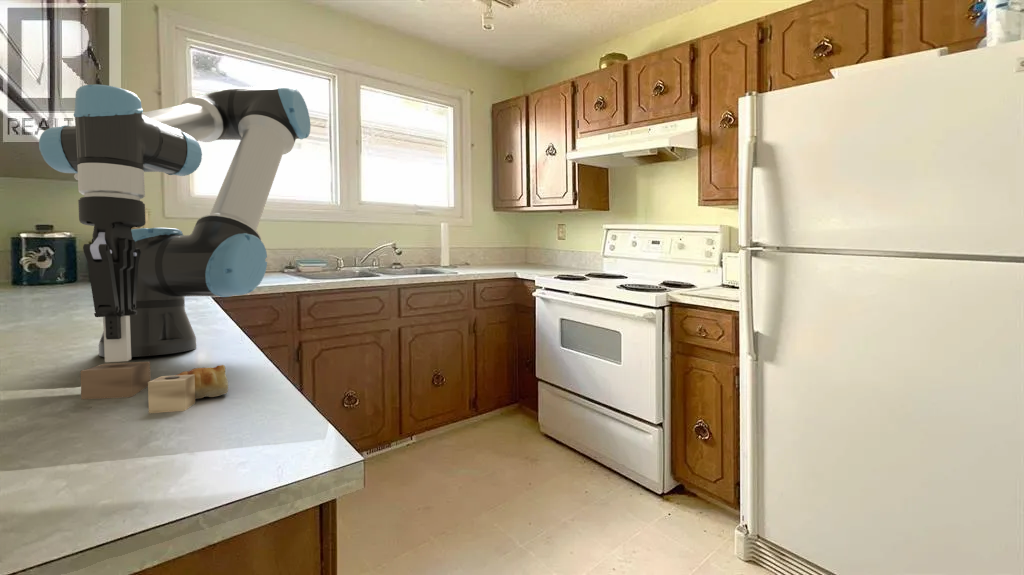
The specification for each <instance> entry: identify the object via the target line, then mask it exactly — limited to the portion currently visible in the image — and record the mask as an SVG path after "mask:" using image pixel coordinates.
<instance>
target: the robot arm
mask: <svg viewBox="0 0 1024 575" xmlns="http://www.w3.org/2000/svg"><path fill="white" fill-rule="evenodd" d="M73 117H74V122H75V125H61V126H55V127H49V128H47V129H45V130H44V131H43V132H42V133H41V134H40V137H39V140H38V148H39V152H40V155H41V156H42V159H43V160H44V162H45V163H46V164H47V165H48V166H49V167H51V168H52V169H54V170H55V171H57V172H59V173H62V174H74V175H73V178H74V179H75V180H76V181H77V184H78V193H79V194H81V195H83V197H80V198H79V199H78V200H77V202H78V220H79V222H80V224H82V225H84V226H89V227H90V226H91V227H93V230H92V231H93V232H92V239H91V243H84V244H83V246H82V250H83V253H84V256H85V259H86V262H87V269H88V274H89V280H90V281H89V282H90V287H91V294H92V301H93V306H94V308H93V309H94V312H95V313H93V314H94V317H95V318H102V321H103V332H102V334H101V335H100V336H101V337H100V339H99V343H98V356H99V357H102V358H104V363H122V362H130V361H131V360H132V358H134V357H135V358H136V357H151V356H159V355H161V356H162V355H170V354H178V353H183V352H188V351H192V350H195V349H197V337H196V334H195V332H194V330H193V327H192V324H191V322H190V320H189V317H188V315H187V313H186V308H185V307H186V304H185V299H186V298H185V297H220V298H229V297H234V296H243V295H244V296H245V295H247V294H250V293H252V292H253V291H254V290H256V289H257V288H258V287H259V285H260V284H261V283H262V281H263V279H264V277H265V275H266V272H267V267H268V262H267V261H266V259H267V258H268V254H267V248H266V246H265V244H264V243H263V241H262V237H261V235H260V234H259V232H258V231H257V230H258V227H259V223H260V221H261V217H262V214H263V213H264V210H265V209H264V208H265V207H266V204H267V201H268V198H269V195H270V192H271V189H272V187H273V183H274V180H275V178H276V174H277V172H278V169H279V166H280V163H281V160H282V157H283V155H286V154H288V153H290V152H291V151H292V150H293V148H294V144H295V143H296V140H297V139H298V140H303V139H308V138H309V136H310V134H311V118H310V114H309V110H308V106H307V103H306V101H305V99H304V96H303V95H302V94H301V92H300V91H299V90H298V89H297V88H295V87H293V86H288V85H287V86H285V85H284V86H283V85H281V84H279V85H277V86H253V87H252V86H251V87H250V86H249V87H248V86H245V87H226V88H222V89H219V90H218V89H217V90H214V91H210V92H207V93H203V94H199V95H196V96H191V97H187V98H185V99H184V100H183V101H182V102H181V103H180V104H178V105H174V106H173V105H172V106H169V107H163V108H160V109H154V110H149V111H144V109H143V107H142V101H141V99H140V98H139V97H138V95H137V94H136V93H134V92H132V91H130V90H127V89H125V88H121V87H117V86H113V85H108V84H107V85H106V84H86V85H85V84H84V85H82V86H80V87H78V88H77V90H76V91H75V99H74V113H73ZM219 140H221V141H222V140H223V141H224V140H229V141H231V140H235V141H239V140H240V141H239V143H238V146H237V147H236V151H235V153H234V155H233V158H232V160H231V163H230V165H229V167H228V170H227V172H226V175H225V177H224V179H223V182H222V185H221V187H220V188H219V191H218V194H217V196H216V198H215V201H214V204H213V206H212V208H211V211H210V212H209V214H207V215H203V216H201V217H200V218H198V219H197V221H196V222H195V226H193V229H192V232H191V234H187V235H185V234H183V231H181V230H180V229H178V228H172V227H150V228H147V227H144V226H145V225H146V204H145V203H144V201H142V200H141V199H144V198H145V197H146V192H145V190H146V189H145V188H146V186H145V173H157V172H158V173H164V174H166V175H169V176H178V177H185V176H189V175H192V174H193V173H195V172H196V171H197V170H198V169H199V167H200V165H201V162H202V160H203V158H202V156H203V153H202V148H201V145H200V143H199V142H202V143H211V142H215V141H219Z"/></svg>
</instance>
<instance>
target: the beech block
mask: <svg viewBox="0 0 1024 575" xmlns="http://www.w3.org/2000/svg"><path fill="white" fill-rule="evenodd" d="M147 390H148V391H147V392H148V393H147V394H148V395H147V398H148V400H147V401H148V414H158V413H169V412H170V413H171V412H184V411H187V410H188V409H189V408H191V407H192V406H193V405H195V404H196V399H195V374H193V375H177V374H175V375H162V376H159V377H157V378H154V379H151V381H150V382H148V387H147Z"/></svg>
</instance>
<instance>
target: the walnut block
mask: <svg viewBox="0 0 1024 575" xmlns="http://www.w3.org/2000/svg"><path fill="white" fill-rule="evenodd" d="M151 373H152V372H151V361H136V362H135V361H133V362H130V361H127V362H105V363H102V364H98V365H95V366H92V367H89V368H84V369H82V370H80V394H81V396H80V397H81V400H98V399H116V398H117V399H118V398H120V399H121V398H123V399H124V398H132V397H134V396H135V395H138V393H141V391H143V390H145V389H146V388H148V382H150V381H152V379H151V378H152V377H151Z"/></svg>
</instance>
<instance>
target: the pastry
mask: <svg viewBox="0 0 1024 575" xmlns="http://www.w3.org/2000/svg"><path fill="white" fill-rule="evenodd" d="M193 374H195V400H197V399H198V400H199V399H203V398H204V397H209V398H214V397H219V396H221V395H222V396H223V395H226V394H227V393H228V392H229V381H228V377H227V375H226V374H227V373H226V366H225V365H224V364H221V365H217V366H215V367H214V366H213V367H197V368H192V369H191V370H185V371H181V372H180V373H177V374H176V375H193Z"/></svg>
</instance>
